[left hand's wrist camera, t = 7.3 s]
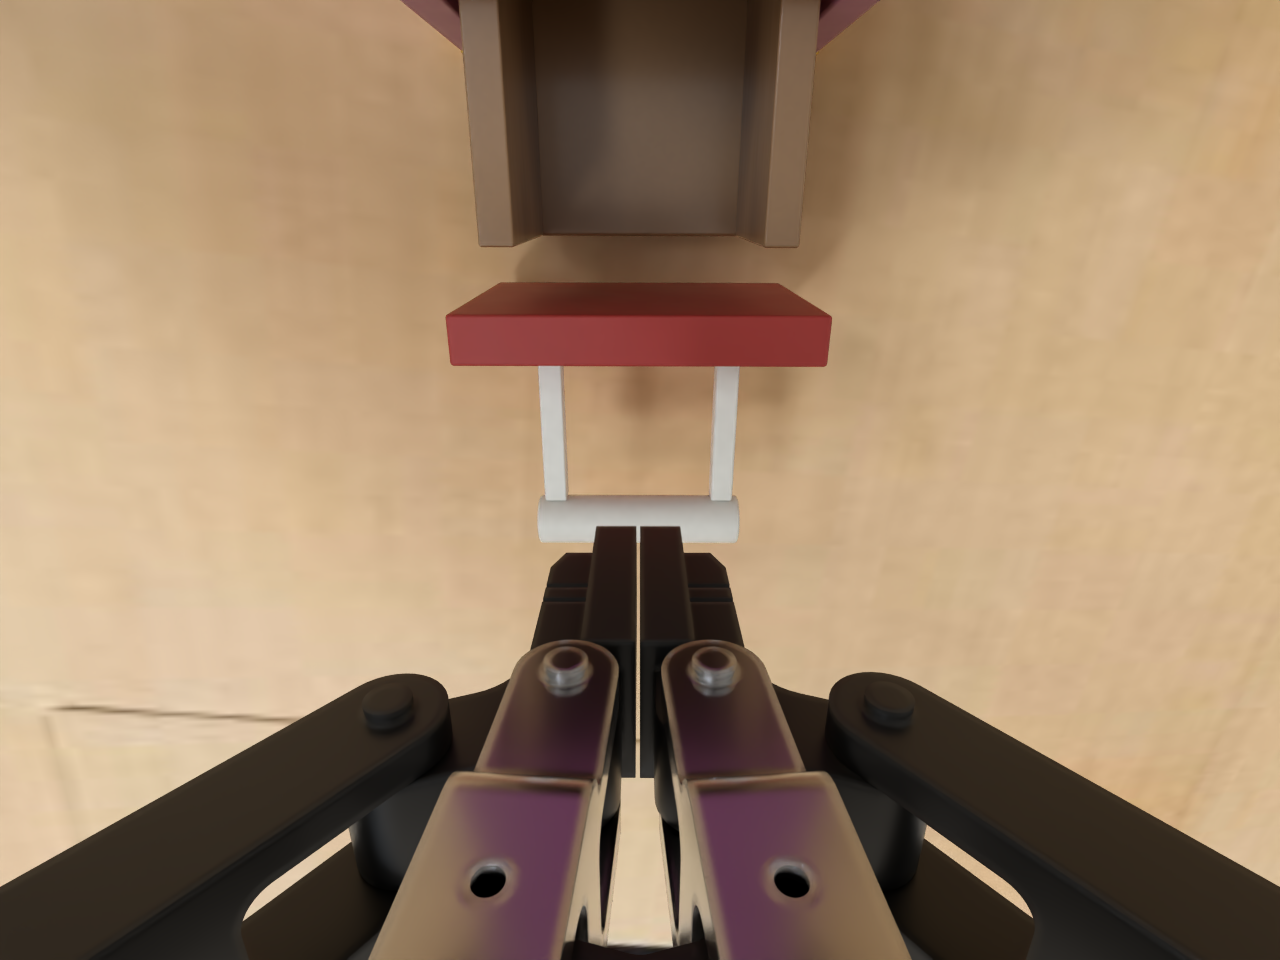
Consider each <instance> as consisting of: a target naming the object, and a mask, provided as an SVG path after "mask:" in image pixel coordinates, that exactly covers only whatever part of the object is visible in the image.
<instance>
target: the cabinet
mask: <svg viewBox="0 0 1280 960" xmlns="http://www.w3.org/2000/svg"><path fill="white" fill-rule="evenodd" d="M401 1H402V2H403V3H404V4H406V5H407V6H408V7H409V8H410V9H412V10H413V11H414V12H415V13H417V14H418V15H419V16H420V17H421V18H423V19H424V20H425V21H426V22H427V23H429V24H430V25H431V26H432V27H434V28H435V29H436V30H437V31H438V32H440V33H441V34H442V35H443V36H444V37H446V38H447V39H448V40H449V41H451V42H452V43H453V44H454V45H455V46H457V47H458V48H459V49H460V50H461V52H462V53H463V49H462V37H461V25H460V13H459V2H458V0H401ZM878 1H880V0H821V2H820V13H819V25H818V36H817V47H816V55H817V54H818V53H819V50H820V49H821V48H823V47H824V46H825V45H826V44H828V43H829V42H830V41H831V40H832V39H834V38H835V37H836V36H837V35H838V34H840V33H841V32H842V31H843V30H845V29H846V28H847V27H848V26H849V25H851V24H852V23H853V22H854V21H855V20H857V19H858V18H859V17H860V16H861V15H863V14H864V13H865V12H866V11H868V10H869V9H870V8H871V7H872V6H874V5H875V4H876V3H877V2H878Z"/></svg>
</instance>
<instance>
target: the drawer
mask: <svg viewBox="0 0 1280 960" xmlns="http://www.w3.org/2000/svg"><path fill="white" fill-rule="evenodd" d="M458 2H459V13H460V25H461V37H462V49H463V61H464V73H465V85H466V97H467V109H468V121H469V133H470V145H471V157H472V169H473V180H474V192H475V204H476V216H477V228H478V240H479V246H480V247H514V246H516V245H519V244H521V243H524V242H527V241H529V240H532V239H535V238H537V237H540V236H738V237H740V238H743V239H745V240H748V241H750V242H753V243H755V244H758V245H760V246H763V247H765V248H797V247H798V246H799V241H800V229H801V218H802V207H803V195H804V184H805V172H806V161H807V150H808V138H809V127H810V116H811V104H812V93H813V81H814V70H815V59H816V47H817V36H818V25H819V13H820V2H821V0H458ZM831 324H832V317H831V316H830V315H828V314H827V313H825V312H824V311H822V310H820V309H819V308H817V307H816V306H814V305H812V304H811V303H809V302H808V301H806V300H804V299H803V298H801V297H799V296H798V295H796V294H795V293H793V292H791V291H790V290H788V289H787V288H785V287H783V286H782V285H780V284H778V283H499V284H497V285H496V286H494V287H492V288H491V289H489V290H487V291H486V292H484V293H482V294H481V295H479V296H477V297H476V298H474V299H472V300H471V301H469V302H467V303H466V304H464V305H462V306H461V307H459V308H457V309H456V310H454V311H452V312H451V313H449V314H448V315H446V326H447V335H448V345H449V354H450V363H451V365H453V366H538V377H539V395H540V413H541V431H542V449H543V467H544V485H545V495H542V496H541V497H540V500H539V505H538V535H539V539H540V541H541V542H571V543H594V538H595V531H596V526H636V533H637V543H640V526H680V528H681V536H682V543H735V542H737V539H738V535H739V521H740V520H739V504H738V500H737V497H736V496H734V495H732V487H733V471H734V454H735V437H736V421H737V404H738V387H739V371H740V367H824V366H826V365H827V360H828V351H829V342H830V333H831ZM563 366H715V367H714V389H713V411H712V433H711V455H710V477H709V495H568V492H569V491H568V466H567V442H566V418H565V394H564V369H563Z"/></svg>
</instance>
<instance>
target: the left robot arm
mask: <svg viewBox="0 0 1280 960" xmlns="http://www.w3.org/2000/svg"><path fill="white" fill-rule="evenodd" d="M636 649H637V533H636V526H596V531H595V538H594V546H593V553H566V554H565V555H564V556H562V557H561V558H560V559H559V560H558V561H557V562H556V563H555V564H554V565H553V566H552V567H551V569H550V573H549V577H548V581H547V588H546V589H545V593H544V597H543V602H542V605H541V609H540V613H539V617H538V621H537V625H536V629H535V633H534V637H533V641H532V645H531V649H530V651H529V652H527V653H526V654H525V655H524V656H523V657H522V658H521V659H520V660H519V661H518V662H517V664H516V666H515V668H514V670H513V673H512V675H511V678H510V679H509V680H507V681H505V682H504V683H502V684H500V685H498V686H496V687H493V688H491V689H488V690H485V691H481V692H478V693H474V694H469V695H465V696H460V697H456V698H451V699H448V694H447V692H446V689H445V688H444V687H443V685H442V684H440V683H439V682H438V681H436V680H434V679H433V678H430V677H427V676H424V675H419V674H395V675H389V676H385V677H381V678H377V679H375V680H372V681H369V682H367V683H365V684H363V685H361V686H359V687H357V688H355V689H353V690H351V691H350V692H348V693H346V694H344V695H343V696H341V697H339V698H337V699H335V700H334V701H332V702H330V703H328V704H326V705H325V706H323V707H321V708H319V709H317V710H316V711H314V712H312V713H310V714H309V715H307V716H305V717H303V718H301V719H300V720H298V721H296V722H294V723H292V724H291V725H289V726H287V727H285V728H284V729H282V730H280V731H278V732H276V733H275V734H273V735H271V736H269V737H267V738H266V739H264V740H262V741H260V742H258V743H257V744H255V745H253V746H251V747H250V748H248V749H246V750H244V751H242V752H241V753H239V754H237V755H235V756H233V757H232V758H230V759H228V760H226V761H225V762H223V763H221V764H219V765H217V766H216V767H214V768H212V769H210V770H208V771H207V772H205V773H203V774H201V775H199V776H198V777H196V778H194V779H192V780H191V781H189V782H187V783H185V784H183V785H182V786H180V787H178V788H176V789H174V790H173V791H171V792H169V793H167V794H166V795H164V796H162V797H160V798H158V799H157V800H155V801H153V802H151V803H149V804H148V805H146V806H144V807H142V808H140V809H139V810H137V811H135V812H133V813H132V814H130V815H128V816H126V817H124V818H123V819H121V820H119V821H117V822H115V823H114V824H112V825H110V826H108V827H107V828H105V829H103V830H101V831H99V832H98V833H96V834H94V835H92V836H90V837H89V838H87V839H85V840H83V841H82V842H80V843H78V844H76V845H74V846H73V847H71V848H69V849H67V850H65V851H64V852H62V853H60V854H58V855H56V856H55V857H53V858H51V859H49V860H48V861H46V862H44V863H42V864H40V865H39V866H37V867H35V868H33V869H31V870H30V871H28V872H26V873H24V874H23V875H21V876H19V877H17V878H15V879H14V880H12V881H10V882H8V883H6V884H5V885H3V886H1V887H0V960H1280V887H1279V886H1277V885H1275V884H1274V883H1272V882H1270V881H1268V880H1266V879H1265V878H1263V877H1261V876H1259V875H1257V874H1256V873H1254V872H1252V871H1250V870H1249V869H1247V868H1245V867H1243V866H1241V865H1240V864H1238V863H1236V862H1234V861H1232V860H1231V859H1229V858H1227V857H1225V856H1223V855H1222V854H1220V853H1218V852H1216V851H1215V850H1213V849H1211V848H1209V847H1207V846H1206V845H1204V844H1202V843H1200V842H1198V841H1197V840H1195V839H1193V838H1191V837H1190V836H1188V835H1186V834H1184V833H1182V832H1181V831H1179V830H1177V829H1175V828H1173V827H1172V826H1170V825H1168V824H1166V823H1165V822H1163V821H1161V820H1159V819H1157V818H1156V817H1154V816H1152V815H1150V814H1148V813H1147V812H1145V811H1143V810H1141V809H1139V808H1138V807H1136V806H1134V805H1132V804H1131V803H1129V802H1127V801H1125V800H1123V799H1122V798H1120V797H1118V796H1116V795H1114V794H1113V793H1111V792H1109V791H1107V790H1106V789H1104V788H1102V787H1100V786H1098V785H1097V784H1095V783H1093V782H1091V781H1089V780H1088V779H1086V778H1084V777H1082V776H1080V775H1079V774H1077V773H1075V772H1073V771H1072V770H1070V769H1068V768H1066V767H1064V766H1063V765H1061V764H1059V763H1057V762H1055V761H1054V760H1052V759H1050V758H1048V757H1047V756H1045V755H1043V754H1041V753H1039V752H1038V751H1036V750H1034V749H1032V748H1030V747H1029V746H1027V745H1025V744H1023V743H1021V742H1020V741H1018V740H1016V739H1014V738H1013V737H1011V736H1009V735H1007V734H1005V733H1004V732H1002V731H1000V730H998V729H996V728H995V727H993V726H991V725H989V724H988V723H986V722H984V721H982V720H980V719H979V718H977V717H975V716H973V715H971V714H970V713H968V712H966V711H964V710H963V709H961V708H959V707H957V706H955V705H954V704H952V703H950V702H948V701H946V700H945V699H943V698H941V697H939V696H937V695H936V694H934V693H932V692H930V691H929V690H927V689H925V688H923V687H921V686H920V685H918V684H916V683H914V682H912V681H909V680H907V679H904V678H901V677H898V676H894V675H891V674H885V673H877V672H862V673H856V674H852V675H849V676H846V677H844V678H842V679H840V680H839V681H838V682H837V683H835V685H834V686H833V687H832V689H831V691H830V694H829V700H827V699H823V698H818V697H814V696H809V695H805V694H800V693H796V692H793V691H789V690H786V689H784V688H781V687H779V686H777V685H775V684H773V683H771V680H770V678H769V675H768V673H767V670H766V668H765V666H764V664H763V662H762V661H761V660H760V659H759V658H758V657H757V656H756V655H755V654H754V653H753V652H751V651H749V650H748V649H746V648H744V643H743V639H742V635H741V631H740V627H739V622H738V618H737V614H736V610H735V606H734V602H733V597H732V593H731V589H730V588H729V580H728V576H727V572H726V568H725V567H724V566H723V565H722V564H721V563H720V562H719V561H718V560H717V559H716V558H715V557H714V556H713V555H712V554H711V553H684V552H683V544H682V536H681V528H680V526H640V778H654V791H655V803H656V807H657V809H658V812H659V832H660V840H661V848H662V857H663V865H664V873H665V882H666V890H667V898H668V907H669V915H670V924H671V932H672V940H673V948H670V949H666V950H662V951H659V952H655V953H651V954H646V955H634V954H629V953H625V952H621V951H618V950H614V949H610V948H607V940H608V932H609V924H610V915H611V907H612V898H613V890H614V882H615V873H616V865H617V857H618V848H619V840H620V832H621V778H635V774H636ZM927 825H928V826H930V827H931V828H933V829H934V830H935V831H937V832H938V833H940V834H941V835H942V836H944V837H945V838H947V839H948V840H949V841H951V842H952V843H954V844H955V845H956V846H958V847H959V848H960V849H962V850H963V851H965V852H966V853H967V854H969V855H970V856H972V857H973V858H974V859H976V860H977V861H979V862H980V863H981V864H983V865H984V866H986V867H987V868H988V869H990V870H991V871H993V872H994V873H995V874H997V875H998V876H1000V877H1001V878H1002V879H1004V880H1005V881H1006V882H1008V883H1009V884H1010V885H1011V886H1012V887H1013V888H1014V889H1015V890H1016V891H1017V892H1018V893H1019V894H1020V895H1021V897H1022V898H1023V899H1024V901H1025V902H1026V904H1027V905H1028V907H1029V909H1030V911H1031V913H1032V916H1033V918H1032V917H1030V916H1029V915H1028V914H1026V913H1025V912H1023V911H1022V910H1021V909H1019V908H1018V907H1017V906H1015V905H1014V904H1013V903H1011V902H1010V901H1008V900H1007V899H1006V898H1004V897H1003V896H1002V895H1000V894H999V893H998V892H996V891H995V890H994V889H992V888H991V887H989V886H988V885H987V884H985V883H984V882H983V881H981V880H980V879H979V878H977V877H976V876H974V875H973V874H972V873H970V872H969V871H968V870H966V869H965V868H964V867H962V866H961V865H960V864H958V863H957V862H955V861H954V860H953V859H951V858H950V857H949V856H947V855H946V854H945V853H943V852H942V851H940V850H939V849H938V848H936V847H935V846H934V845H932V844H931V843H930V842H928V841H927V840H926V839H924V835H925V831H926V826H927ZM347 828H349V832H350V836H351V841H352V842H350V843H349V844H348V845H346V846H345V847H344V848H342V849H341V850H340V851H338V852H337V853H335V854H334V855H333V856H331V857H330V858H329V859H327V860H326V861H325V862H323V863H322V864H320V865H319V866H318V867H316V868H315V869H314V870H312V871H311V872H310V873H308V874H307V875H306V876H304V877H303V878H301V879H300V880H299V881H297V882H296V883H295V884H293V885H292V886H291V887H289V888H288V889H286V890H285V891H284V892H282V893H281V894H280V895H278V896H277V897H276V898H274V899H273V900H272V901H270V902H269V903H267V904H266V905H265V906H263V907H262V908H261V909H259V910H258V911H257V912H255V913H254V914H252V915H251V916H250V917H248V918H247V919H246V920H244V921H243V918H244V916H245V914H246V912H247V910H248V908H249V906H250V905H251V904H252V902H253V901H254V899H255V898H256V897H257V896H258V895H259V894H260V893H261V892H262V891H263V890H264V889H265V888H266V887H267V886H268V885H270V884H271V883H272V882H273V881H275V880H276V879H278V878H279V877H280V876H282V875H283V874H285V873H286V872H287V871H289V870H290V869H292V868H293V867H294V866H296V865H297V864H299V863H300V862H301V861H303V860H304V859H306V858H307V857H308V856H310V855H311V854H312V853H314V852H315V851H317V850H318V849H319V848H321V847H322V846H324V845H325V844H326V843H328V842H329V841H331V840H332V839H333V838H335V837H336V836H338V835H339V834H340V833H342V832H343V831H345V830H346V829H347ZM242 921H243V922H242Z"/></svg>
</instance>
